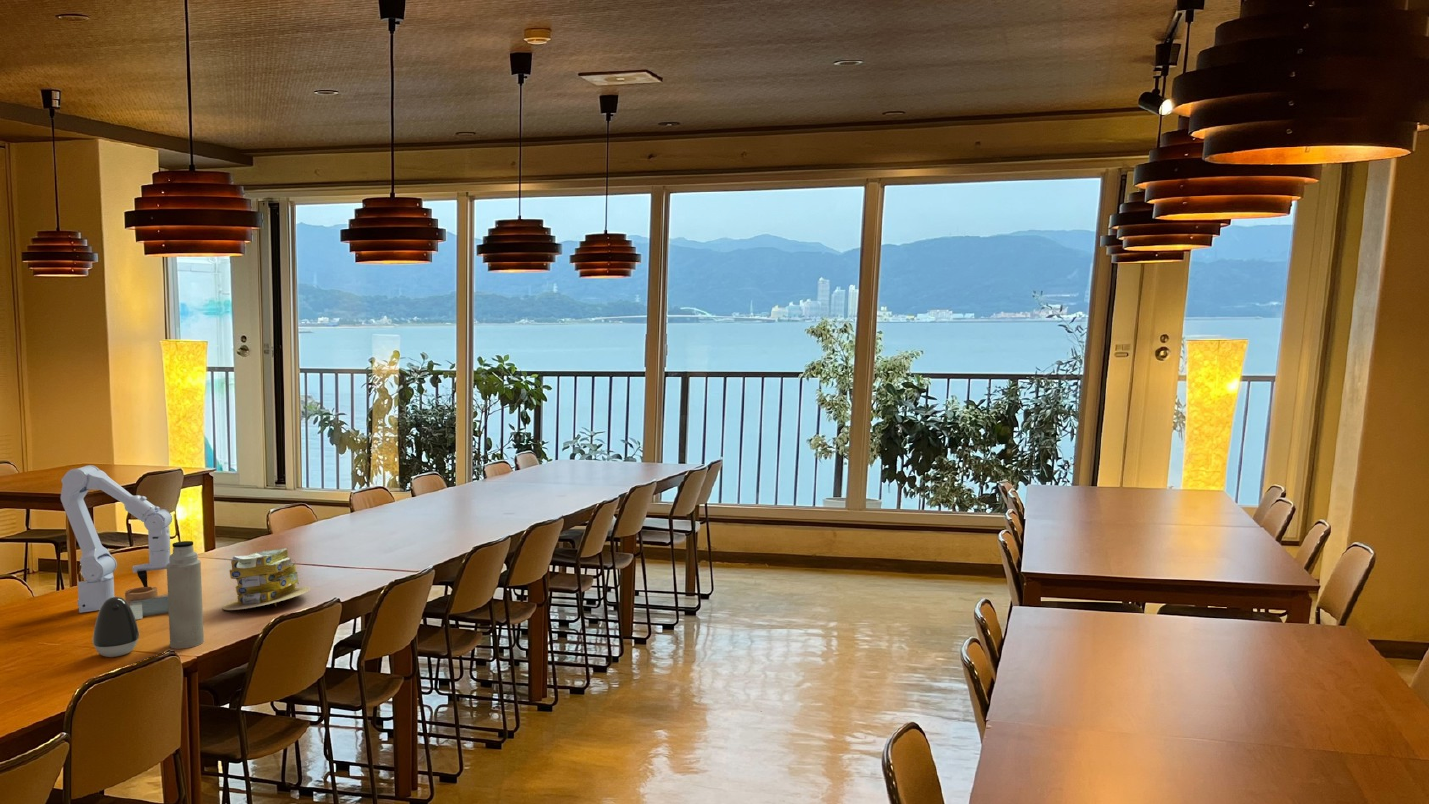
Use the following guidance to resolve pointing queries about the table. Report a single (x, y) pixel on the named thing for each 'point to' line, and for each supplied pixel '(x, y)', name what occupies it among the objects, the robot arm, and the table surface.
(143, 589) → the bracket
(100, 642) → the grey white egg device
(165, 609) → the bar
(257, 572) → the stacked boxes on plate
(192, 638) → the thermos bottle
